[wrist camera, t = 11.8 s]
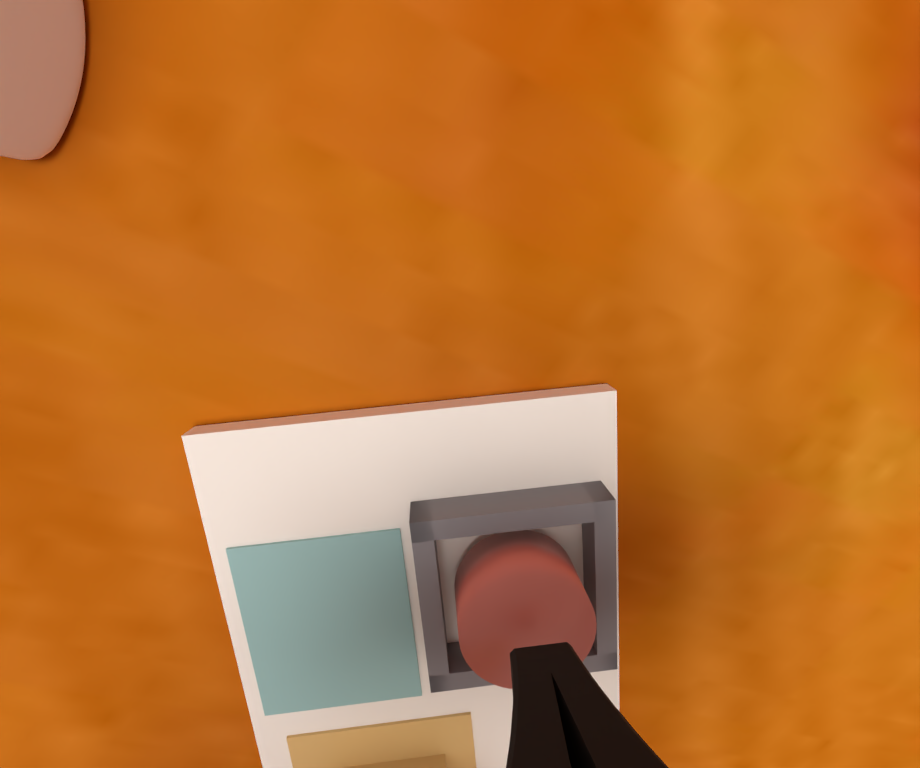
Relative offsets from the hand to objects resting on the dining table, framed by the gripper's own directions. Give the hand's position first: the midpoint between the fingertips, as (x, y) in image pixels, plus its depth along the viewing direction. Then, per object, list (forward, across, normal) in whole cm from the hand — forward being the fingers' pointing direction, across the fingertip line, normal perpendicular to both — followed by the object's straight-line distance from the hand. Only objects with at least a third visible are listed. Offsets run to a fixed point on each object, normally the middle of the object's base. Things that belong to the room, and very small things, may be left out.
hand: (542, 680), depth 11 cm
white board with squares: (+5, +3, +4) cm, 7 cm away
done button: (+4, 0, 0) cm, 4 cm away
